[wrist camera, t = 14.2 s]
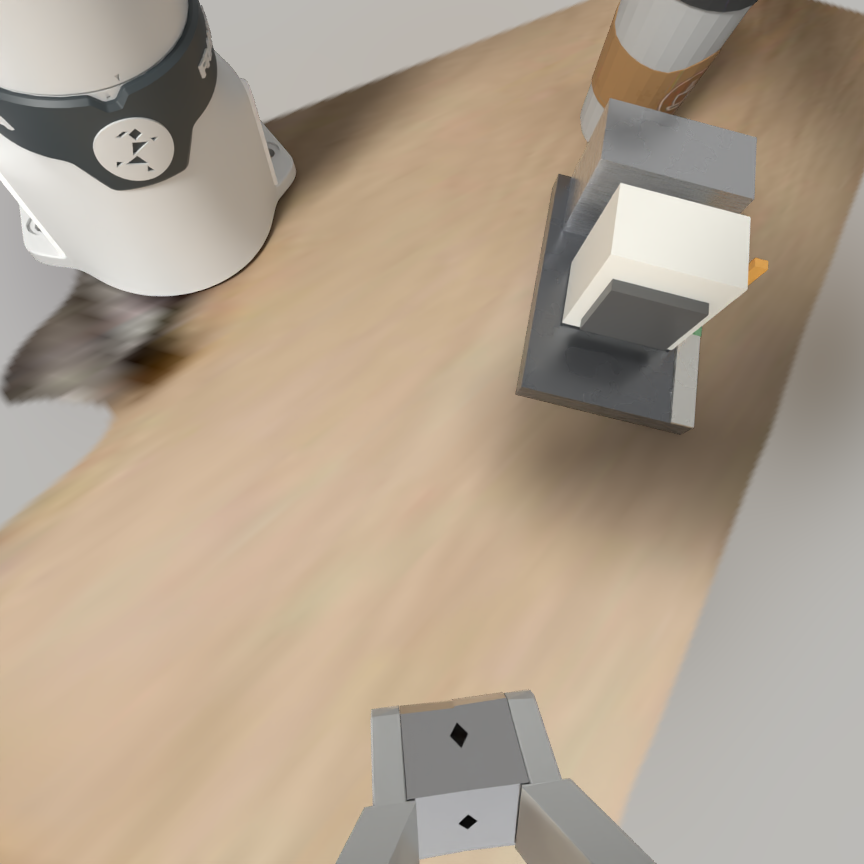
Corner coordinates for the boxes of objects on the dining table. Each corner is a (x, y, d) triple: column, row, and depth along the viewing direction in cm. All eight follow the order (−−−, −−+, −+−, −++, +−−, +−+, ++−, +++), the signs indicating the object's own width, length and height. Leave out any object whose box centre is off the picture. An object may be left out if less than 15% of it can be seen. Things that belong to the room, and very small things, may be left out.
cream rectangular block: (692, 365, 38) (774, 308, 30) (560, 332, 37) (609, 266, 30) (697, 294, 40) (776, 223, 32) (571, 262, 39) (620, 182, 32)
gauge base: (680, 434, 38) (764, 392, 30) (515, 394, 38) (555, 340, 30) (696, 225, 44) (771, 141, 35) (552, 187, 43) (595, 93, 35)
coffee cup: (614, 187, 44) (733, -9, 29) (545, 117, 45) (628, -103, 31) (681, 141, 46) (823, -63, 32) (614, 76, 47) (721, -149, 33)
